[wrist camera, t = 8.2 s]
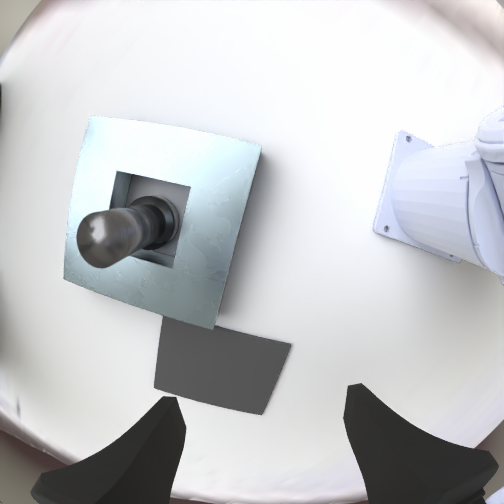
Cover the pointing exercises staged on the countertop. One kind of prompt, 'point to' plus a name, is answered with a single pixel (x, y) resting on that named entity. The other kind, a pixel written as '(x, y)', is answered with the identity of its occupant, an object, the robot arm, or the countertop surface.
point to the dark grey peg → (126, 230)
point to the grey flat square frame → (194, 222)
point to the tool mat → (218, 365)
